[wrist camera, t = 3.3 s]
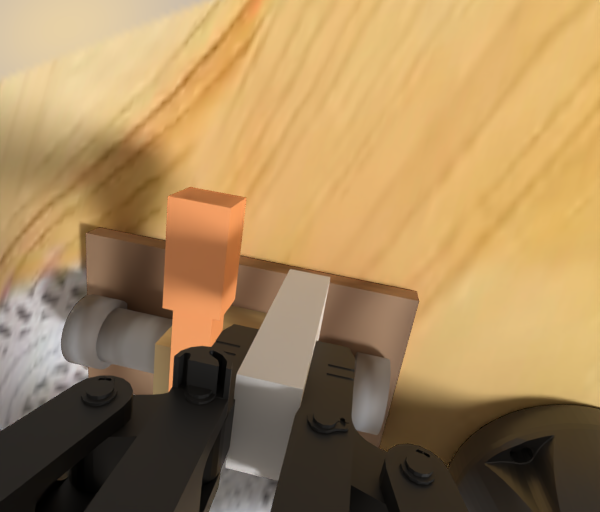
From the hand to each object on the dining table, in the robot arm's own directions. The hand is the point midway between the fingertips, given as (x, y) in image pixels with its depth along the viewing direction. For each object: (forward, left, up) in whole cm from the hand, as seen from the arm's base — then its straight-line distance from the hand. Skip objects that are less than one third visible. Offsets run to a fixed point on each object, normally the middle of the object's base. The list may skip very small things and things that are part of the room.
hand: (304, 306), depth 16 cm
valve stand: (+5, +9, -12) cm, 16 cm away
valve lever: (+5, +4, -4) cm, 7 cm away
